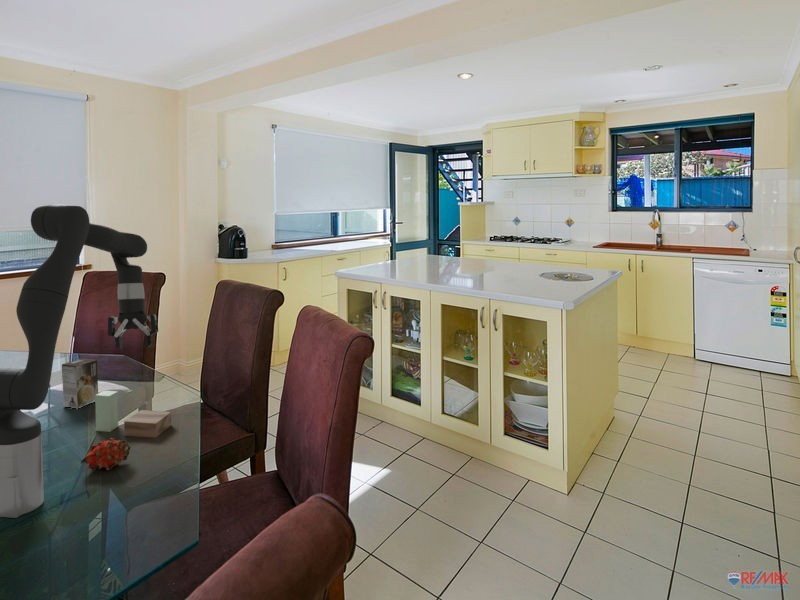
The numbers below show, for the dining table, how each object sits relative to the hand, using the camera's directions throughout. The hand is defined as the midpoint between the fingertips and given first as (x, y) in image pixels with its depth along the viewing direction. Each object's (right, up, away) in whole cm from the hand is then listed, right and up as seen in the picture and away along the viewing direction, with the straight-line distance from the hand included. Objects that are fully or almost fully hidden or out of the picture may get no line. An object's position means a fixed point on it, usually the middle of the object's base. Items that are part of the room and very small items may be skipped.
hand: (134, 347), depth 153 cm
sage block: (-10, -27, +2) cm, 28 cm away
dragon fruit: (+5, -31, -22) cm, 38 cm away
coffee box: (-31, -23, +20) cm, 43 cm away
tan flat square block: (+3, -28, +3) cm, 28 cm away
